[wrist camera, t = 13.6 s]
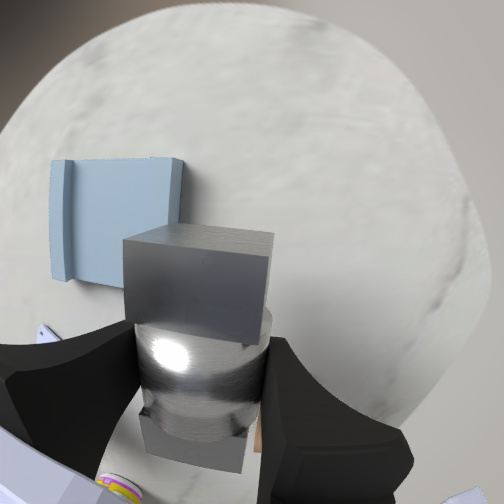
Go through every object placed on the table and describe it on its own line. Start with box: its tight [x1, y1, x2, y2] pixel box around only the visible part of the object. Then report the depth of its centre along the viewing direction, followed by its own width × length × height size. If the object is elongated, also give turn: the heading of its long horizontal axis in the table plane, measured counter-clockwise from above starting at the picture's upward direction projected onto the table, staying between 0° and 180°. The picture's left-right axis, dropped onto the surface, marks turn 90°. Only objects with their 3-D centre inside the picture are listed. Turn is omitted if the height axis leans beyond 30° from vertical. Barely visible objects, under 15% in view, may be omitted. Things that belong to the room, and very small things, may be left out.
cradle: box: [49, 157, 183, 288], centre depth 19 cm, size 9×10×2 cm
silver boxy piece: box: [123, 222, 274, 474], centre depth 10 cm, size 9×5×5 cm, turn 175°
